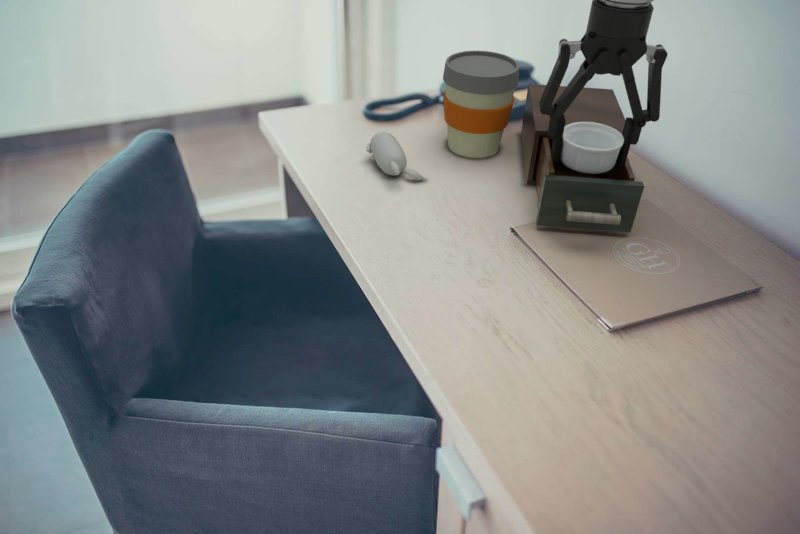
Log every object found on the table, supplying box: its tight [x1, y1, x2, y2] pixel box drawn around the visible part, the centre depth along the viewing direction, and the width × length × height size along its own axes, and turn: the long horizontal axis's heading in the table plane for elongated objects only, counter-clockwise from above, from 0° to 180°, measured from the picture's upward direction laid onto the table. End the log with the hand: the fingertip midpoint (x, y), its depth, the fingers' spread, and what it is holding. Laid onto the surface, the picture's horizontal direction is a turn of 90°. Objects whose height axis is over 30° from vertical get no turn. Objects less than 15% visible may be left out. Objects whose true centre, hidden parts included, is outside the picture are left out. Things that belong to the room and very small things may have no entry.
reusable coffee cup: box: [442, 50, 520, 159], centre depth 110 cm, size 13×13×15 cm
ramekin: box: [560, 122, 624, 174], centre depth 93 cm, size 9×9×4 cm
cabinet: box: [520, 83, 632, 186], centre depth 108 cm, size 19×15×10 cm
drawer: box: [534, 135, 645, 234], centre depth 95 cm, size 22×13×8 cm, turn 174°
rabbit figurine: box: [366, 130, 424, 181], centre depth 105 cm, size 6×5×12 cm
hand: (586, 160), depth 94 cm, fingers closed on ramekin, 9 cm apart
